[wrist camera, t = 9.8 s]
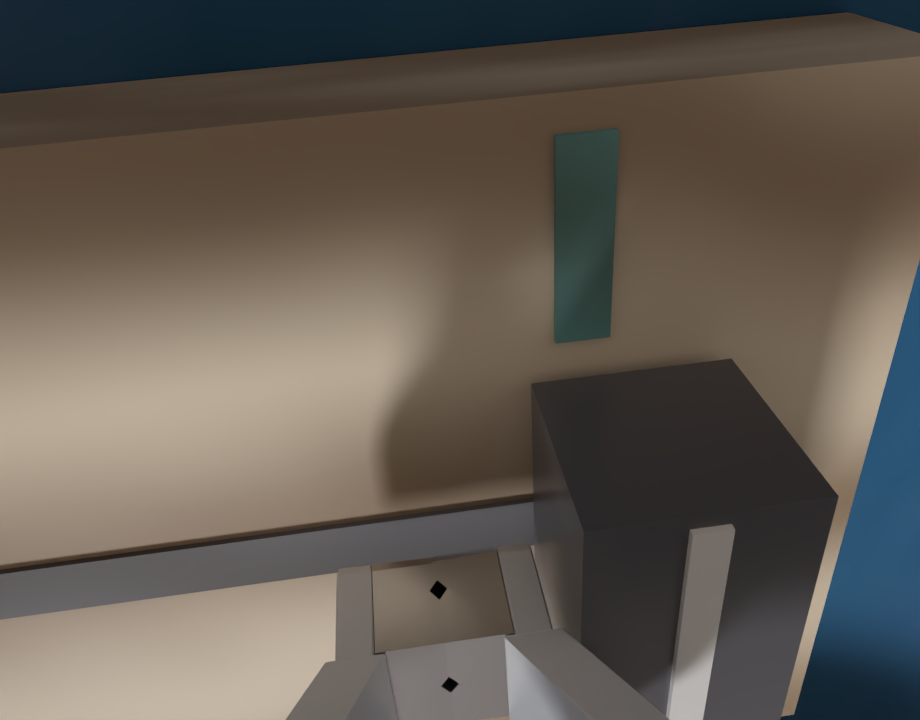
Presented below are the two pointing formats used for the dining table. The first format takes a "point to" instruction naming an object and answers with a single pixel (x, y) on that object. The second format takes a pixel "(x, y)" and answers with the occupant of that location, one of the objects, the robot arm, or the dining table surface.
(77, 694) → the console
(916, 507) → the dining table surface
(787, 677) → the fader
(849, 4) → the dining table surface
